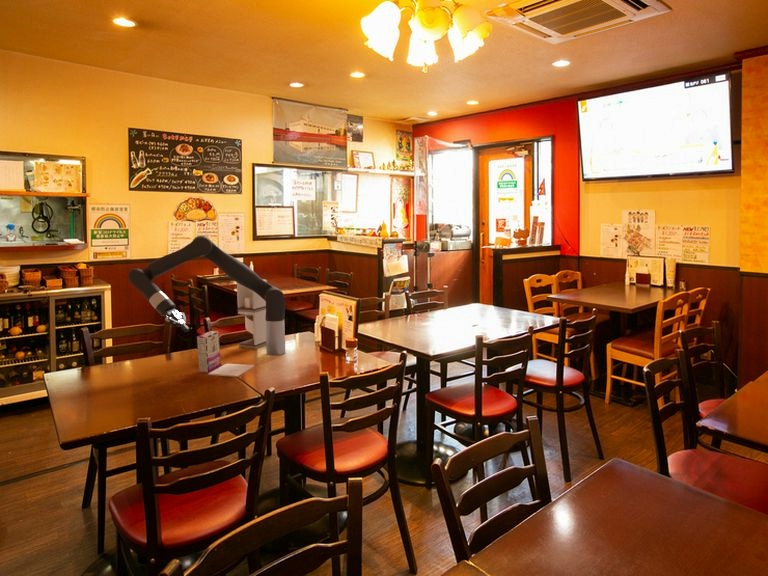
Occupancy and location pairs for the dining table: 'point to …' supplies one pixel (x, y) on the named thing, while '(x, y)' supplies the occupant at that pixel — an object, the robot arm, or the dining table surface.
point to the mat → (231, 370)
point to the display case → (252, 316)
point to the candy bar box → (208, 351)
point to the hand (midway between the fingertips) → (187, 331)
